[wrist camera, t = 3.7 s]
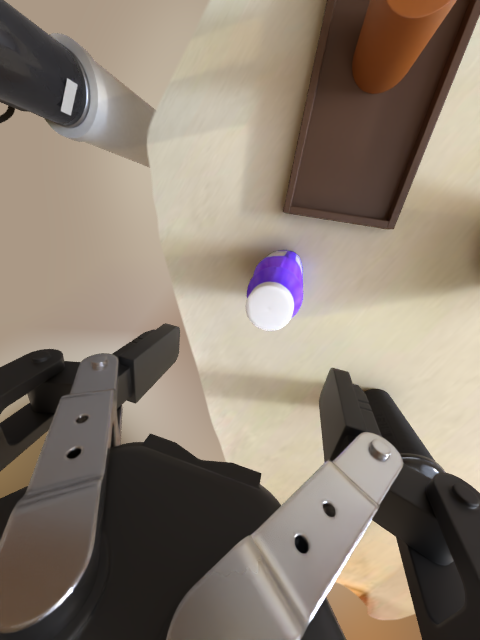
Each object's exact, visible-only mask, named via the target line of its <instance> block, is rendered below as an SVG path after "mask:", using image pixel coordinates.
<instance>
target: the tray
mask: <svg viewBox="0 0 480 640" xmlns="http://www.w3.org/2000/svg"><path fill="white" fill-rule="evenodd" d="M369 2H370V0H327V4H326V9H325V14H324V18H323V23H322V28H321V33H320V38H319V42H318V47H317V52H316V57H315V62H314V66H313V71H312V76H311V81H310V85H309V90H308V95H307V100H306V105H305V109H304V114H303V119H302V124H301V129H300V133H299V138H298V143H297V148H296V153H295V157H294V162H293V167H292V172H291V176H290V181H289V186H288V191H287V196H286V200H285V205H284V210H283V212H284V213H289V214H295V215H302V216H308V217H314V218H320V219H327V220H333V221H339V222H346V223H352V224H358V225H364V226H371V227H377V228H383V229H394V227H395V224H396V222H397V219H398V217H399V214H400V212H401V209H402V207H403V204H404V202H405V199H406V197H407V194H408V192H409V189H410V187H411V184H412V182H413V179H414V177H415V175H416V172H417V170H418V167H419V165H420V162H421V160H422V157H423V155H424V152H425V150H426V147H427V145H428V142H429V140H430V137H431V135H432V132H433V130H434V127H435V125H436V122H437V120H438V117H439V115H440V112H441V110H442V107H443V105H444V102H445V100H446V97H447V95H448V92H449V90H450V88H451V85H452V83H453V80H454V78H455V75H456V73H457V70H458V68H459V65H460V63H461V60H462V58H463V55H464V53H465V50H466V48H467V45H468V43H469V40H470V38H471V35H472V33H473V30H474V28H475V25H476V23H477V20H478V18H479V15H480V0H457V1H456V2H455V4H454V5H453V7H452V8H451V10H450V11H449V13H448V14H447V16H446V17H445V18H444V20H443V21H442V23H441V24H440V26H439V27H438V29H437V30H436V32H435V33H434V35H433V36H432V38H431V39H430V40H429V42H428V43H427V45H426V46H425V48H424V49H423V51H422V52H421V54H420V55H419V57H418V58H417V59H416V61H415V62H414V64H413V65H412V67H411V68H410V70H409V71H408V73H407V74H406V75H405V77H404V78H403V79H402V80H401V81H400V82H399V83H398V84H397V85H395V86H394V87H393V88H391V89H389V90H387V91H385V92H382V93H378V94H371V93H367V92H364V91H363V90H361V89H360V88H359V87H358V86H357V84H356V82H355V80H354V77H353V73H352V61H353V56H354V52H355V49H356V45H357V42H358V39H359V36H360V32H361V29H362V26H363V22H364V19H365V16H366V12H367V9H368V6H369Z"/></svg>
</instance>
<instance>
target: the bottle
mask: <svg viewBox="0 0 480 640" xmlns="http://www.w3.org/2000/svg"><path fill="white" fill-rule="evenodd" d="M302 300H303V269H302V262H301V259H300V257H299V256H298V255H297V254H296V253H294V252H292V251H287V250H281V251H277V252H273V253H271V254H270V255H268V256H267V257H265V258H264V259H263V260H262V261H261V262H260V263H259V264H258V265H257V267H256V269H255V271H254V274H253V277H252V279H251V281H250V283H249V285H248V289H247V301H246V313H247V316H248V318H249V320H250V321H251V322H252V323H253V324H254V325H255V326H256V327H258V328H260V329H263V330H267V331H273V330H277V329H280V328H282V327H284V326H285V325H286V324H287V323H288V322H289V321H290V319H291V318H292V317H293V316H294V315H295V314H296V313H297V312H298V310H299V308H300V306H301V304H302Z"/></svg>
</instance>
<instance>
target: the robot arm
mask: <svg viewBox="0 0 480 640" xmlns="http://www.w3.org/2000/svg"><path fill="white" fill-rule="evenodd" d="M90 100H91V95H90V86H89V81H88V77H87V74H86V72H85V69H84V67H83V65H82V63H81V62H80V60H79V59H78V57H77V56H76V55H75V54H74V53H73V52H72V51H71V50H69V49H68V48H67V47H65V46H64V45H62V44H60V43H59V42H58V41H56V40H55V39H54V38H52V37H51V36H50V35H48V34H47V33H46V32H45V31H43V30H42V29H41V28H39V27H38V26H37V25H36V24H34V23H33V22H31V21H30V20H29V19H28V18H26V17H25V16H24V15H22V14H21V13H19V12H18V11H17V10H16V9H15V8H13V7H12V6H11V5H9V4H8V3H7V2H5V1H4V0H0V102H1V103H4V104H6V105H8V109H7V111H6V112H5V113H4V114H2V115H0V123H2V122H5V121H6V120H8V119H9V118H11V116H12V115H13V114H14V111H15V108H16V109H18V110H21V111H29V112H32V113H34V114H37V115H39V116H41V117H43V118H46V119H48V120H51V121H53V122H55V123H56V124H58V125H60V126H63V127H65V128H76V127H78V126H79V125H81V124H82V123H83V122H84V120H85V119H86V117H87V115H88V112H89V108H90ZM179 339H180V328H179V327H177V326H173V325H170V324H163V325H162V326H160V327H159V328H157V329H156V330H151V331H148V332H145V333H143V334H141V335H140V336H139V337H138V338H136V339H134V340H133V341H132V342H129V343H128V344H126V345H125V346H123V347H122V348H120V349H119V350H118V351H116V352H114V353H113V354H104V353H102V354H96V355H92V356H89V357H87V358H85V359H84V360H83V361H82V362H69V361H64V358H63V354H62V352H61V351H59V350H54V349H44V350H39V351H34V352H31V353H29V354H26V355H24V356H22V357H21V358H18V359H16V360H14V361H12V362H10V363H8V364H6V365H4V366H2V367H0V414H1V412H2V411H3V410H4V409H5V408H6V407H7V406H9V405H10V404H12V403H13V402H15V401H16V400H18V399H20V398H21V397H23V396H24V395H26V394H28V397H29V400H30V403H29V404H27V405H26V406H24V407H23V408H21V409H20V410H19V411H17V412H16V413H14V414H13V415H11V416H10V417H8V418H7V419H6V420H4V421H3V422H1V423H0V471H1V470H3V469H4V468H5V467H6V466H7V465H8V464H9V463H11V462H12V461H13V460H14V459H15V458H16V457H18V456H19V455H20V454H21V453H22V452H23V451H24V450H25V449H27V448H28V447H29V446H30V445H32V444H33V443H34V442H35V441H36V440H37V439H39V438H40V437H41V436H42V435H43V434H44V433H45V432H47V431H48V430H49V431H48V434H47V436H46V439H45V442H44V445H43V447H42V450H41V453H40V455H39V458H38V461H37V464H36V466H35V469H34V472H33V474H32V477H31V480H30V483H29V485H28V486H27V487H24V488H22V489H20V490H18V491H16V492H14V493H11V494H9V495H7V496H5V497H3V498H0V640H346V638H345V636H344V634H343V632H342V630H341V628H340V625H339V623H338V621H337V619H336V617H335V615H334V612H333V610H332V608H331V606H330V604H329V602H328V600H327V597H326V595H327V593H328V592H329V590H330V589H331V587H332V585H333V584H334V582H335V580H336V579H337V577H338V575H339V574H340V572H341V570H342V569H343V567H344V565H345V564H346V562H347V560H348V559H349V557H350V555H351V554H352V552H353V550H354V549H355V547H356V545H357V544H358V542H359V540H360V539H361V537H362V536H363V534H364V532H365V531H366V529H367V527H368V526H369V524H370V522H371V521H372V520H373V521H374V522H376V523H377V524H379V525H380V526H381V527H383V528H384V529H386V530H387V531H389V532H390V533H392V534H393V535H394V536H396V539H397V543H398V547H399V550H400V554H401V558H402V562H403V566H404V570H405V574H406V578H407V582H408V586H409V590H410V593H411V597H412V601H413V605H414V609H415V613H416V617H417V621H418V625H419V628H420V633H421V636H422V640H480V493H479V492H478V491H477V490H476V489H474V488H473V487H472V486H471V485H469V484H468V483H466V482H465V481H463V480H462V479H460V478H458V477H456V476H454V475H452V474H448V473H444V472H440V473H437V474H436V475H435V476H434V477H433V478H432V479H431V478H429V477H427V476H425V475H423V474H422V473H420V472H418V471H416V470H414V469H413V468H411V467H409V466H407V465H406V464H404V463H403V460H402V457H401V455H400V453H399V452H398V450H397V449H396V448H395V447H394V446H393V445H392V444H391V443H390V442H388V441H387V440H386V439H384V438H383V437H382V435H381V433H380V430H379V428H378V425H377V422H376V420H375V417H374V414H373V412H372V409H371V407H370V405H369V401H368V399H367V396H366V394H365V393H364V392H363V390H362V389H361V388H360V387H359V386H358V385H355V384H352V381H351V378H350V375H349V372H347V371H343V370H339V369H335V368H331V369H330V371H329V373H328V376H327V379H326V381H325V384H324V386H323V389H322V391H321V395H320V400H319V409H320V419H321V429H322V440H323V450H324V461H325V463H324V464H323V465H322V466H321V467H320V468H319V469H318V470H317V471H316V472H315V473H314V474H313V475H312V476H311V477H310V478H309V479H308V480H307V481H306V482H305V483H304V484H303V485H302V486H301V487H300V488H299V489H298V490H297V491H296V492H295V493H294V494H293V495H292V496H291V497H290V498H289V499H288V500H287V501H286V502H285V503H284V504H283V505H282V506H281V504H280V503H279V502H278V500H277V499H276V498H275V497H274V496H273V495H272V494H271V493H270V492H269V491H268V490H267V489H266V488H264V487H263V486H262V485H260V479H261V473H259V472H256V471H253V470H251V469H248V468H245V467H242V466H239V465H237V464H234V463H227V462H216V461H203V460H200V459H198V458H196V457H195V456H193V455H192V454H191V453H189V452H188V451H187V450H185V449H184V448H182V447H181V446H180V445H178V444H177V443H175V442H172V441H170V440H167V439H164V438H161V437H158V436H155V435H153V434H150V435H149V436H148V437H147V439H146V440H145V441H144V442H133V443H126V444H122V445H121V428H122V404H123V403H124V402H125V401H126V400H127V401H130V402H133V403H137V402H138V401H139V400H140V399H141V397H142V396H143V395H144V394H145V393H146V392H147V391H148V390H149V389H150V388H151V387H152V386H153V385H154V384H155V383H156V382H157V380H158V379H159V378H160V377H161V376H162V375H163V374H164V373H165V372H166V371H167V370H168V369H169V368H170V367H171V366H172V365H173V363H175V361H176V360H177V357H178V354H179Z"/></svg>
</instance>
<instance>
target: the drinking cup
mask: <svg viewBox="0 0 480 640" xmlns="http://www.w3.org/2000/svg"><path fill="white" fill-rule="evenodd" d="M364 393H365V394H366V396H367V399H368V401H369V405H370V407H371V409H372V412H373V414H374V417H375V420H376V422H377V425H378V428H379V430H380V433H381V435H382V437H383V438H384V439H386V440H387V441H388V442H390V443H391V444H392V445H393V446H394V447H395V448H396V449H397V450H398V452H399V453H400V455H401V457H402V460H403V463H404V464H406V465H407V466H409V467H411V468H413V469H414V470H416V471H418V472H420V473H422V474H423V475H425V476H427V477H429V478H431V479H432V478H433V477H434V476H435V475H436V474H437V473H440V472H444V473H446V472H445V471H444V469H443V468H442V467H441V466H440V465H439V464H438V463H436V462H435V460H434V459H433V457H432V456H431V455H430V453H429V452H428V450H427V449H426V447H425V446H424V444H423V443H422V442H421V440H420V439H419V437H418V436H417V434H416V433H415V431H414V430H413V429H412V427H411V426H410V424H409V423H408V421H407V420H406V418H405V417H404V416H403V414H402V413H401V411H400V410H399V408H398V407H397V405H396V404H395V403H394V401H393V400H392V398H391V397H390V395H389V394H388V393H387V392H385V391H383V390H380V389H371V390H367V391H365V392H364Z"/></svg>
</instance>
